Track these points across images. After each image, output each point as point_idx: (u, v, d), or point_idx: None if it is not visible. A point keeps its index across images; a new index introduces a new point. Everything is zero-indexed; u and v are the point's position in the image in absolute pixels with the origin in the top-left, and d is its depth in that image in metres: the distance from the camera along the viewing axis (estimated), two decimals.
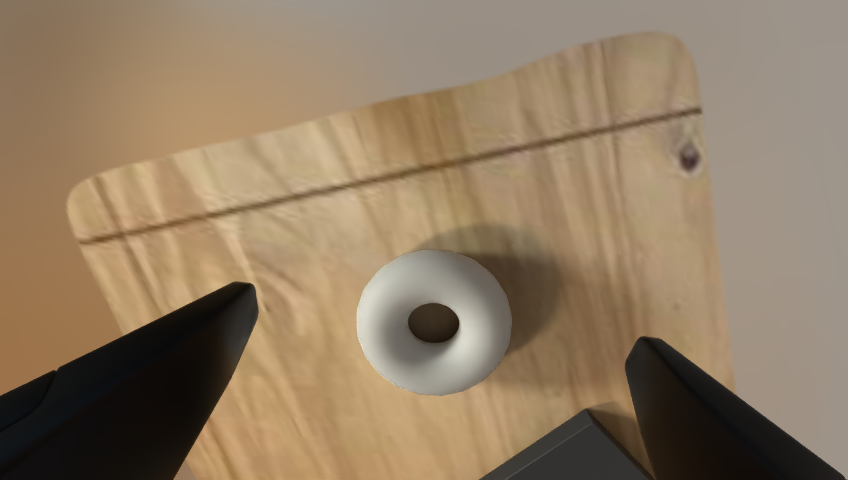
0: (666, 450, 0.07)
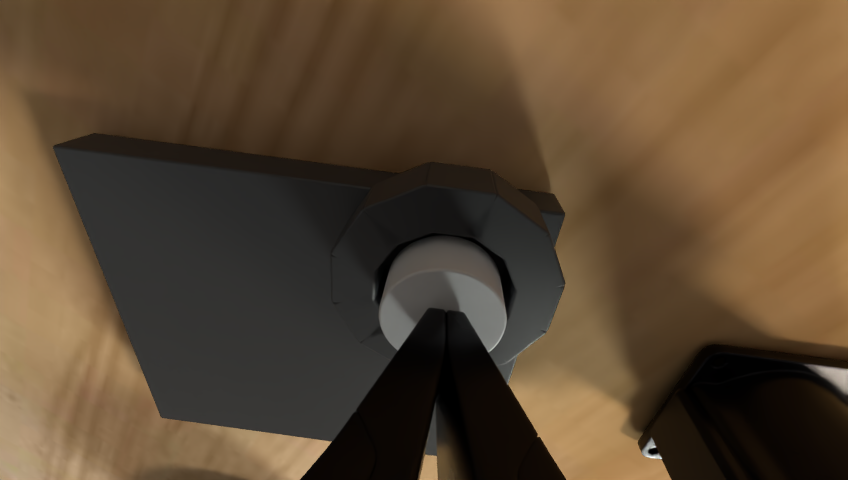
0: (440, 419, 0.07)
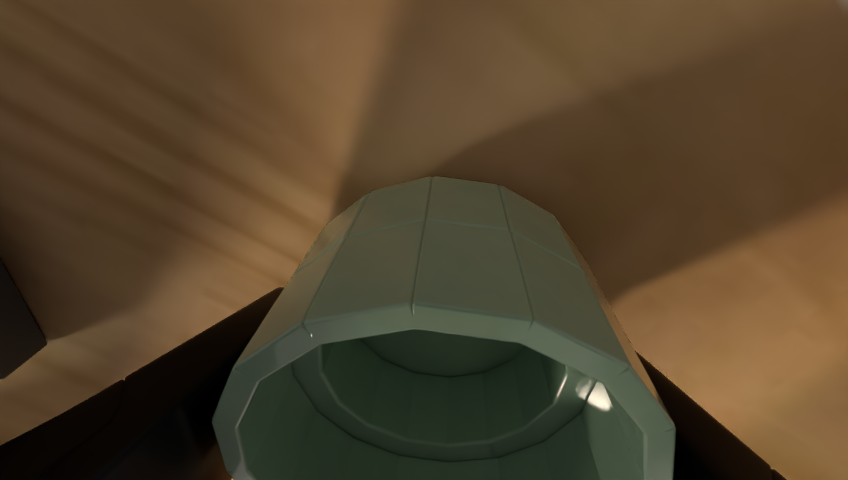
0: None
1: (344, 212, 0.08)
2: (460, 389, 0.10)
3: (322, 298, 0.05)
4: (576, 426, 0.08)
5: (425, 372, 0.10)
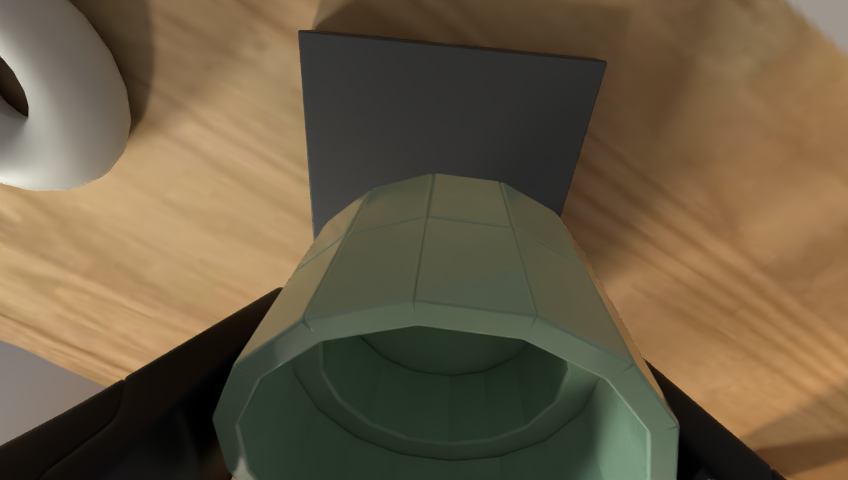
0: None
1: (345, 209, 0.08)
2: (461, 388, 0.10)
3: (324, 294, 0.05)
4: (578, 424, 0.08)
5: (426, 371, 0.10)
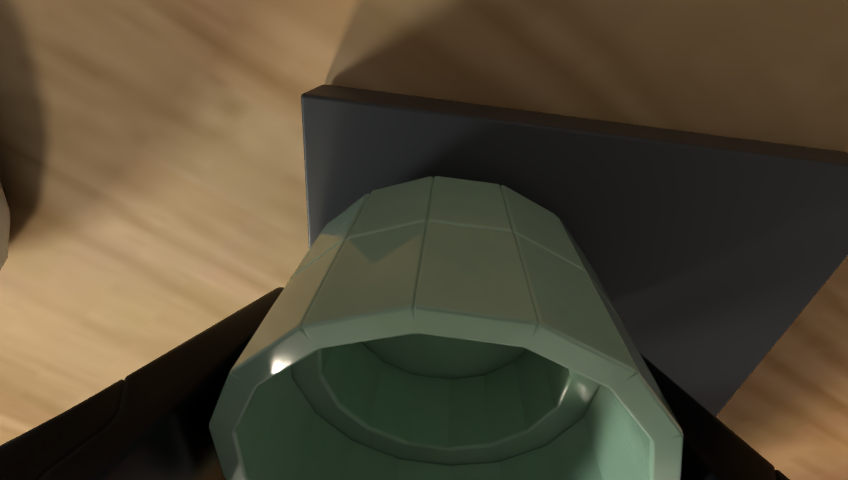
0: None
1: (344, 212, 0.08)
2: (461, 391, 0.10)
3: (321, 301, 0.05)
4: (579, 430, 0.08)
5: (426, 375, 0.10)
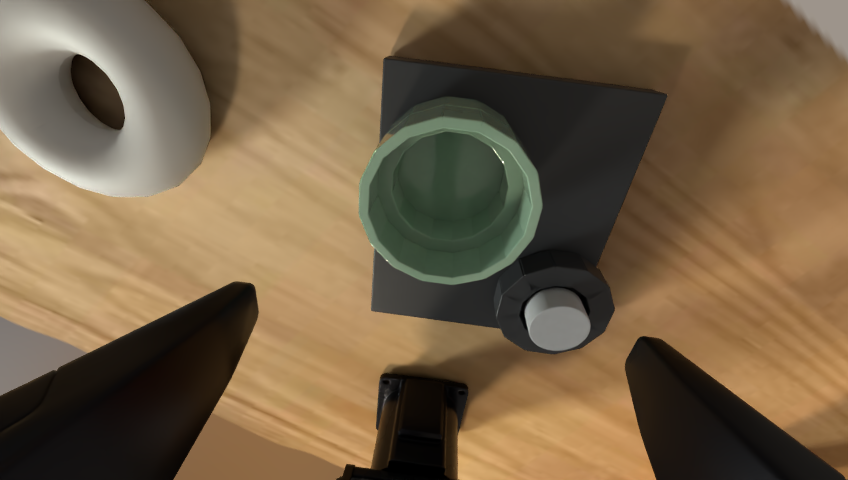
0: (666, 450, 0.07)
1: None
2: (459, 223, 0.18)
3: (409, 122, 0.13)
4: (514, 217, 0.16)
5: (439, 218, 0.19)
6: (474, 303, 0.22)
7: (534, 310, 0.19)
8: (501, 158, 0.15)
